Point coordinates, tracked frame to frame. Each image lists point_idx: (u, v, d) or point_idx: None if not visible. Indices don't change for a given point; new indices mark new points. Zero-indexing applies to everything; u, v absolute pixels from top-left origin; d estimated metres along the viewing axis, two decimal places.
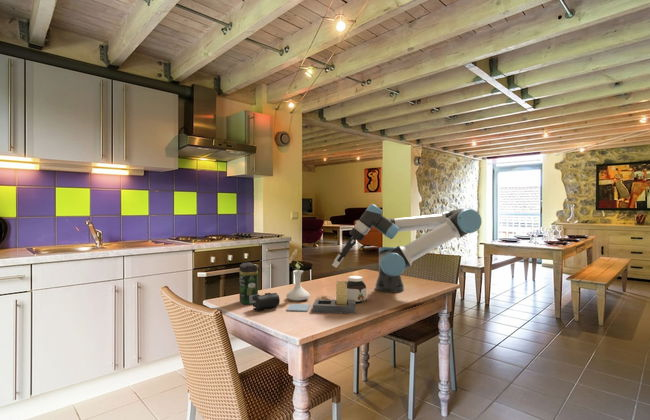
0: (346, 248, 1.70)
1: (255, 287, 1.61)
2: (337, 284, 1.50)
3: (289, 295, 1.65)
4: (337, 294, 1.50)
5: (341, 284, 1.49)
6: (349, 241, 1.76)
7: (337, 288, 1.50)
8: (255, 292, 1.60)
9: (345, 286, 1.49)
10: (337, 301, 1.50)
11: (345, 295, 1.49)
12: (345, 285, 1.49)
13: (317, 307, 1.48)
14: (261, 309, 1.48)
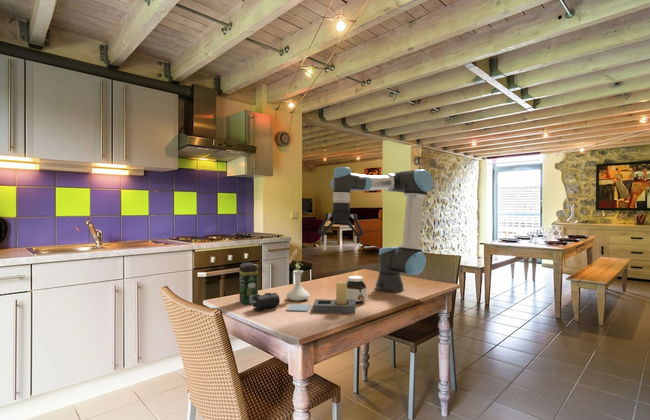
0: (360, 226, 1.52)
1: (255, 287, 1.61)
2: (337, 284, 1.50)
3: (289, 295, 1.65)
4: (337, 294, 1.50)
5: (341, 284, 1.49)
6: (347, 218, 1.52)
7: (337, 288, 1.50)
8: (255, 292, 1.60)
9: (345, 286, 1.49)
10: (337, 301, 1.50)
11: (345, 295, 1.49)
12: (345, 285, 1.49)
13: (317, 307, 1.48)
14: (261, 309, 1.48)
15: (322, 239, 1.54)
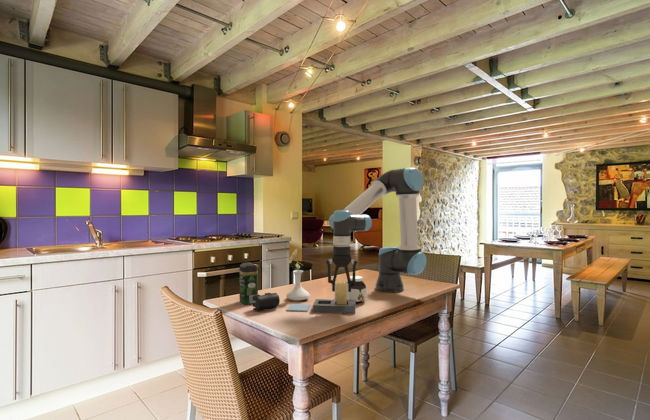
0: None
1: (255, 287, 1.61)
2: (337, 284, 1.50)
3: (289, 295, 1.65)
4: (337, 294, 1.50)
5: (341, 284, 1.49)
6: (347, 263, 1.50)
7: (337, 288, 1.50)
8: (255, 292, 1.60)
9: (345, 286, 1.49)
10: (337, 301, 1.50)
11: (345, 295, 1.49)
12: (345, 285, 1.49)
13: (317, 307, 1.48)
14: (261, 309, 1.48)
15: (333, 288, 1.51)
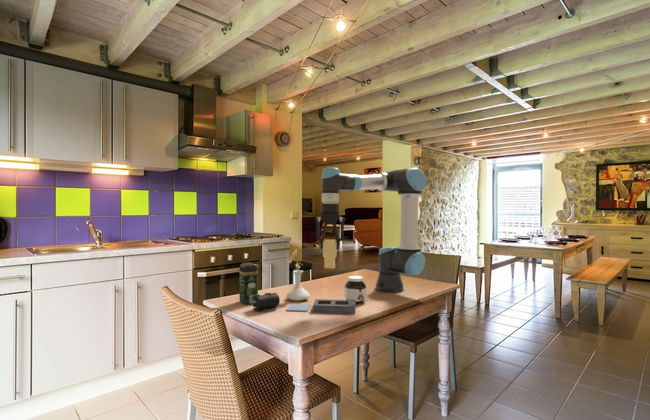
0: (343, 231, 1.51)
1: (255, 287, 1.61)
2: (325, 241, 1.50)
3: (289, 295, 1.65)
4: (325, 251, 1.50)
5: (329, 241, 1.50)
6: (335, 221, 1.50)
7: (325, 245, 1.50)
8: (255, 292, 1.60)
9: (333, 243, 1.49)
10: (325, 258, 1.50)
11: (333, 252, 1.49)
12: (333, 242, 1.49)
13: (317, 307, 1.48)
14: (261, 309, 1.48)
15: (321, 246, 1.51)
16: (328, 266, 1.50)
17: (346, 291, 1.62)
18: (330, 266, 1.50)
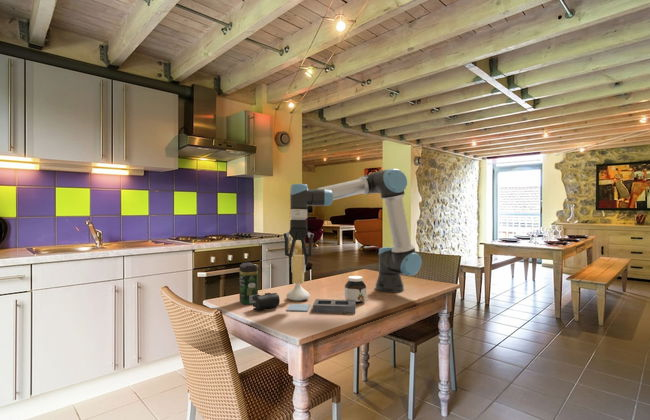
0: (311, 247, 1.52)
1: (255, 287, 1.61)
2: (293, 257, 1.51)
3: (289, 295, 1.65)
4: (293, 266, 1.51)
5: (297, 257, 1.51)
6: (303, 236, 1.52)
7: (293, 260, 1.51)
8: (255, 292, 1.60)
9: (301, 258, 1.51)
10: (293, 273, 1.51)
11: (301, 267, 1.51)
12: (301, 257, 1.51)
13: (317, 307, 1.48)
14: (261, 309, 1.48)
15: (290, 261, 1.53)
16: (296, 281, 1.51)
17: (346, 291, 1.62)
18: (298, 281, 1.51)
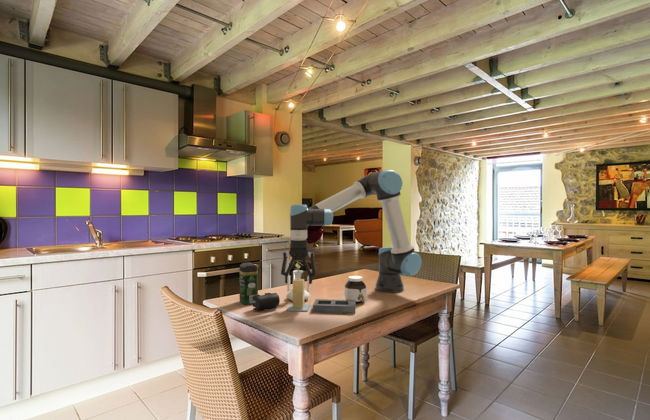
0: (314, 266, 1.52)
1: (255, 287, 1.61)
2: (294, 282, 1.51)
3: (289, 295, 1.65)
4: (294, 291, 1.51)
5: (297, 282, 1.51)
6: (304, 256, 1.52)
7: (294, 285, 1.51)
8: (255, 292, 1.60)
9: (301, 283, 1.51)
10: (294, 298, 1.51)
11: (301, 292, 1.51)
12: (301, 282, 1.51)
13: (317, 307, 1.48)
14: (261, 309, 1.48)
15: (286, 280, 1.53)
16: (296, 306, 1.51)
17: (346, 291, 1.62)
18: (298, 306, 1.51)
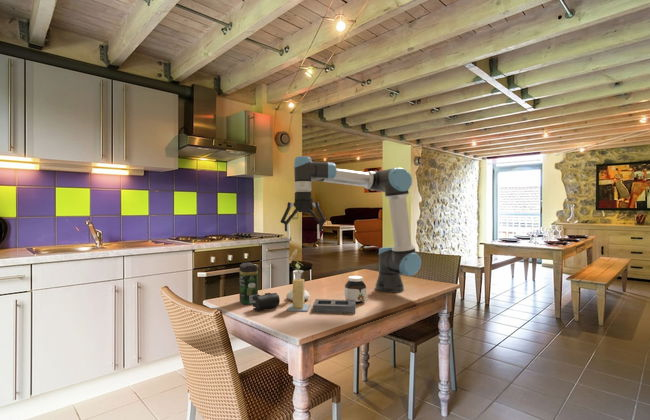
0: (322, 214, 1.54)
1: (255, 287, 1.61)
2: (294, 282, 1.51)
3: (289, 295, 1.65)
4: (294, 291, 1.51)
5: (297, 282, 1.51)
6: (309, 207, 1.54)
7: (294, 285, 1.51)
8: (255, 292, 1.60)
9: (301, 283, 1.51)
10: (294, 298, 1.51)
11: (301, 292, 1.51)
12: (301, 282, 1.51)
13: (317, 307, 1.48)
14: (261, 309, 1.48)
15: (285, 228, 1.56)
16: (296, 306, 1.51)
17: (346, 291, 1.62)
18: (298, 306, 1.51)
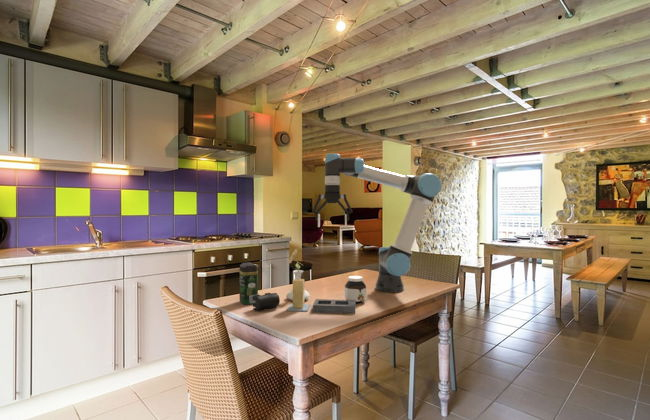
0: (349, 205, 1.73)
1: (255, 287, 1.61)
2: (294, 282, 1.51)
3: (289, 295, 1.65)
4: (294, 291, 1.51)
5: (297, 282, 1.51)
6: (338, 198, 1.73)
7: (294, 285, 1.51)
8: (255, 292, 1.60)
9: (301, 283, 1.51)
10: (294, 298, 1.51)
11: (301, 292, 1.51)
12: (301, 282, 1.51)
13: (317, 307, 1.48)
14: (261, 309, 1.48)
15: (316, 217, 1.75)
16: (296, 306, 1.51)
17: (346, 291, 1.62)
18: (298, 306, 1.51)
